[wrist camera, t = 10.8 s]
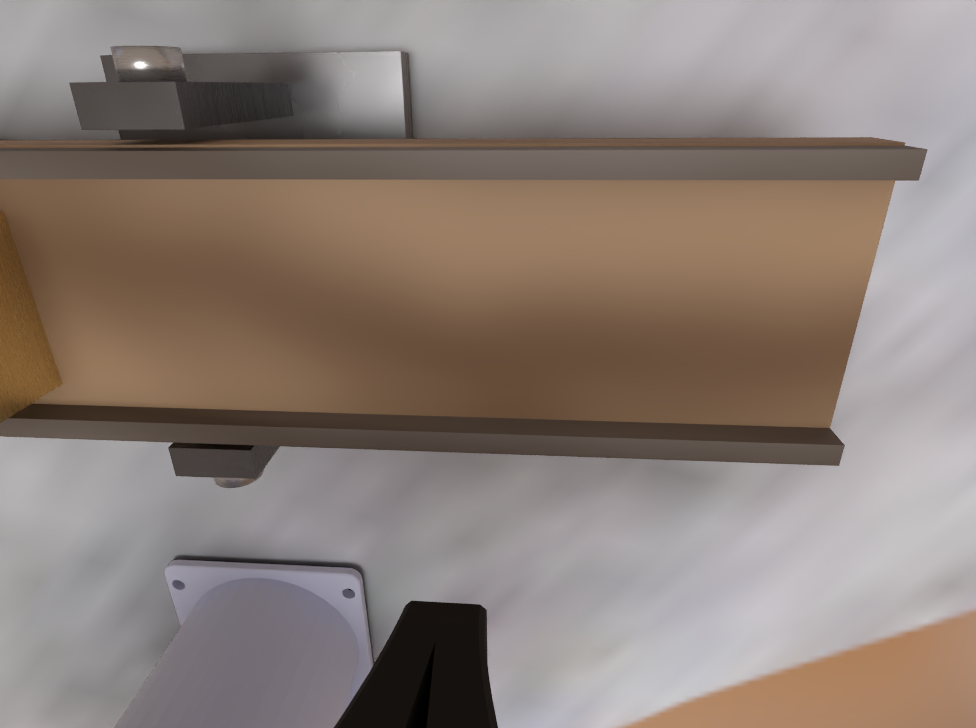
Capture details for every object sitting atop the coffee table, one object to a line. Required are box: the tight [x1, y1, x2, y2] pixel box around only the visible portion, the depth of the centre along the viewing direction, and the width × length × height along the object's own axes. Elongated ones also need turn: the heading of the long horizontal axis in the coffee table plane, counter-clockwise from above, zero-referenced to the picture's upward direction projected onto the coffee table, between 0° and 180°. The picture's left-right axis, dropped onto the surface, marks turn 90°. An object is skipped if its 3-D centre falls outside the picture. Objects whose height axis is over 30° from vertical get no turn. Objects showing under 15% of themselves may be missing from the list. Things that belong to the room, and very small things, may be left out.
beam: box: [0, 137, 927, 466], centre depth 15 cm, size 6×29×6 cm, turn 91°
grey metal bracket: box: [70, 46, 413, 488], centre depth 16 cm, size 10×8×6 cm
